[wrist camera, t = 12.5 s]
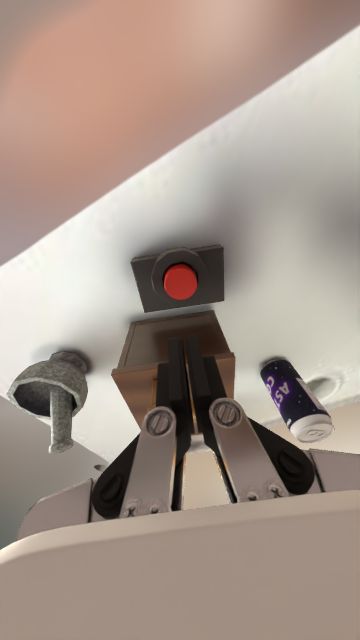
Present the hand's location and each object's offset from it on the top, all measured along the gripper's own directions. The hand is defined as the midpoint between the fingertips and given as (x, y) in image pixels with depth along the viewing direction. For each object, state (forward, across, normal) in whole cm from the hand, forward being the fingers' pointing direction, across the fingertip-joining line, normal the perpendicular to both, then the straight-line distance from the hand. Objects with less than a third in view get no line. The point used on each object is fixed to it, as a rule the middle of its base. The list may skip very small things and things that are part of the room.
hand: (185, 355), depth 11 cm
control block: (+16, 0, +1) cm, 16 cm away
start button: (+13, 0, 0) cm, 13 cm away
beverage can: (+16, -16, +21) cm, 31 cm away
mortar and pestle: (+16, +20, +14) cm, 30 cm away
